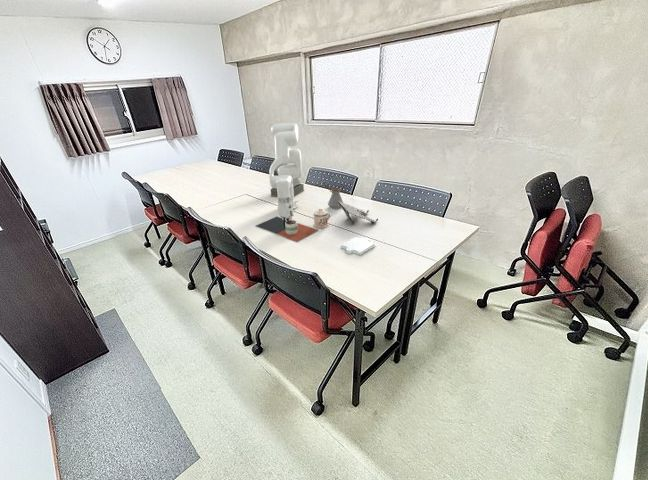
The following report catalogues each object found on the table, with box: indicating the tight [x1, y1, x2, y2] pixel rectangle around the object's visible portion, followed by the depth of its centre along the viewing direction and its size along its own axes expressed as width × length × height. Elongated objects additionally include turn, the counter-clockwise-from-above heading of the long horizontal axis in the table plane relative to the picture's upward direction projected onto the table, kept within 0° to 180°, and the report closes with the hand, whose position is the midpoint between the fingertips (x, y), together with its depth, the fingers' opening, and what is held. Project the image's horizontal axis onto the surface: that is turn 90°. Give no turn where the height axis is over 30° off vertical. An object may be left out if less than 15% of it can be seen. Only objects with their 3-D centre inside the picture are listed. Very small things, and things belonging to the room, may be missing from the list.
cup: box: [285, 219, 299, 235], centre depth 179 cm, size 8×8×7 cm
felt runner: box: [255, 216, 319, 243], centre depth 187 cm, size 20×39×1 cm, turn 46°
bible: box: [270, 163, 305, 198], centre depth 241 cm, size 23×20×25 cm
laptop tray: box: [337, 201, 379, 224], centre depth 188 cm, size 23×23×9 cm
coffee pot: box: [323, 182, 344, 210], centre depth 212 cm, size 21×12×15 cm, turn 29°
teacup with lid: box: [313, 207, 331, 229], centre depth 184 cm, size 12×9×12 cm
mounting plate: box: [340, 236, 376, 256], centre depth 158 cm, size 18×13×2 cm
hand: (286, 226), depth 185 cm, fingers closed
